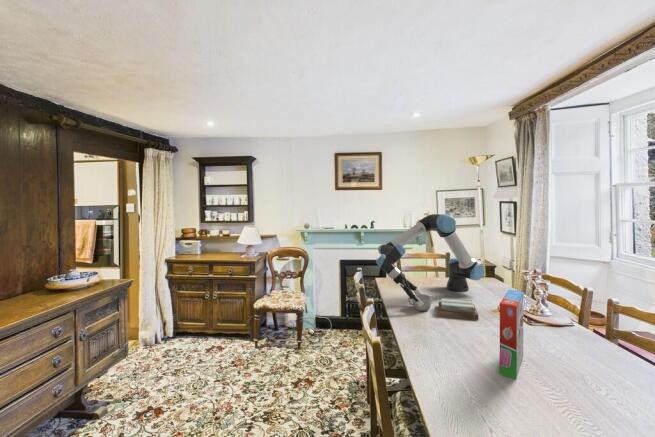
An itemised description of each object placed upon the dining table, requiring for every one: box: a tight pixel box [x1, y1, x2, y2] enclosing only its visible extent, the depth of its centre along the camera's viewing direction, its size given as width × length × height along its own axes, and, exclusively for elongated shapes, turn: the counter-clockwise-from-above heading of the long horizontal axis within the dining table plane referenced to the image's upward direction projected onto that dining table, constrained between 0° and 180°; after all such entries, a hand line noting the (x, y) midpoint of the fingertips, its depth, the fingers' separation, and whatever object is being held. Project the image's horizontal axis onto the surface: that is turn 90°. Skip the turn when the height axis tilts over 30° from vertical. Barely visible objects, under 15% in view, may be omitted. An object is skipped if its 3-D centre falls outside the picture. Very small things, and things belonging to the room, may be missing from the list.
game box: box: [499, 289, 524, 380], centre depth 115 cm, size 21×6×27 cm, turn 141°
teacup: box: [407, 293, 432, 312], centre depth 179 cm, size 14×11×8 cm
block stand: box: [438, 297, 479, 321], centre depth 172 cm, size 18×20×6 cm
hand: (422, 301), depth 178 cm, fingers open, 13 cm apart
